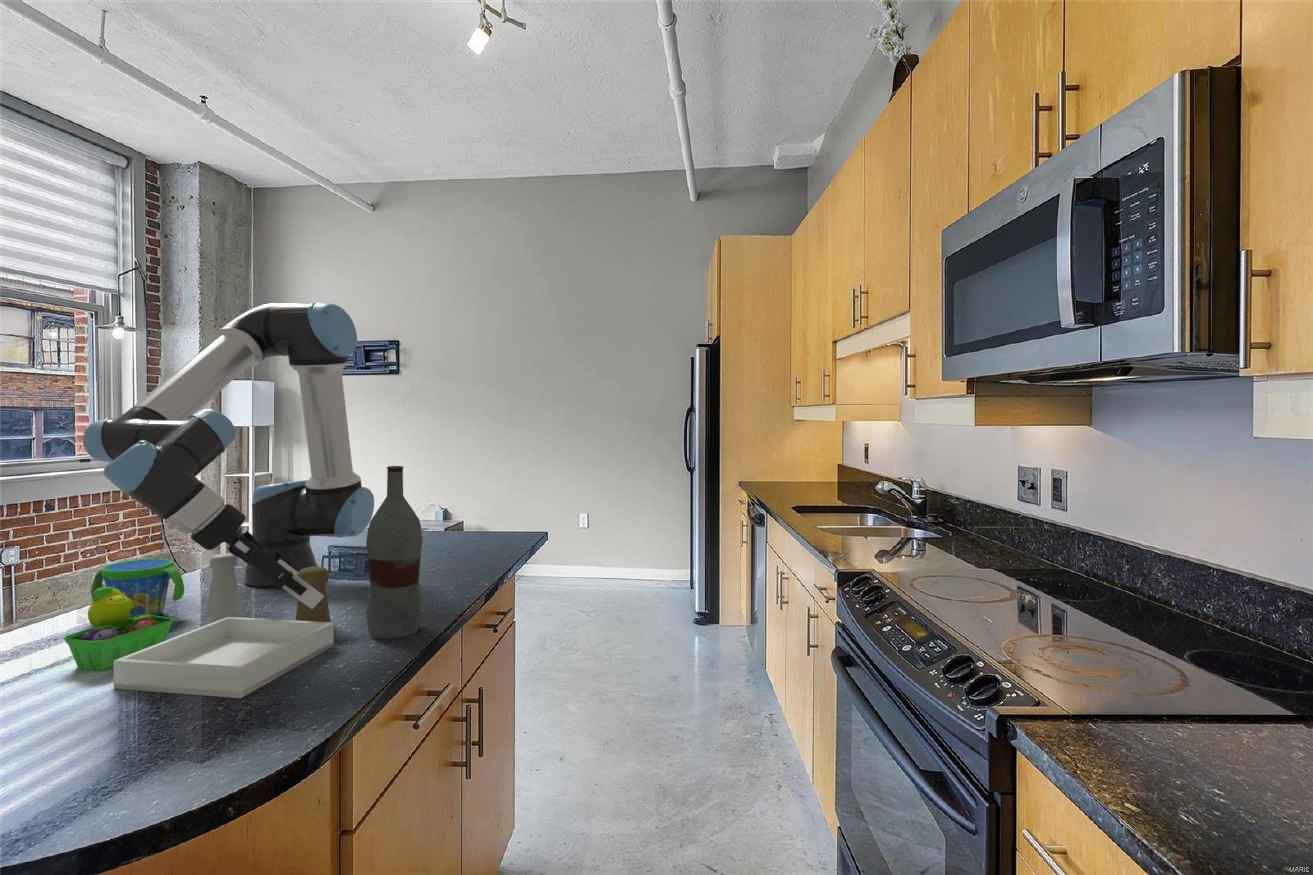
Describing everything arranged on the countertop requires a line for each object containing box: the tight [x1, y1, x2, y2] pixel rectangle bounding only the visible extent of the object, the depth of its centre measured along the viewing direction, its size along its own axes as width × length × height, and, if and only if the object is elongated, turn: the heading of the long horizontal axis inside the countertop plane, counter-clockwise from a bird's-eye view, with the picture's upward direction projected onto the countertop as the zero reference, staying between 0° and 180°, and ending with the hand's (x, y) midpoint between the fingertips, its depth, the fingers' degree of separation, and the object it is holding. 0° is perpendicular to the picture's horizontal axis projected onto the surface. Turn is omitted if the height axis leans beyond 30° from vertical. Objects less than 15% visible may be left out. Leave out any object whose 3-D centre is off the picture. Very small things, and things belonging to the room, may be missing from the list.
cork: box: [295, 566, 331, 622], centre depth 111 cm, size 6×6×11 cm
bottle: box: [365, 465, 423, 640], centre depth 109 cm, size 9×9×30 cm
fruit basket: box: [63, 586, 174, 672], centre depth 96 cm, size 11×9×11 cm
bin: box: [112, 617, 335, 699], centre depth 94 cm, size 20×20×4 cm
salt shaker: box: [204, 552, 244, 624], centre depth 112 cm, size 6×6×13 cm
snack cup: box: [90, 558, 185, 618], centre depth 116 cm, size 16×10×10 cm
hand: (310, 593), depth 111 cm, fingers open, 13 cm apart
